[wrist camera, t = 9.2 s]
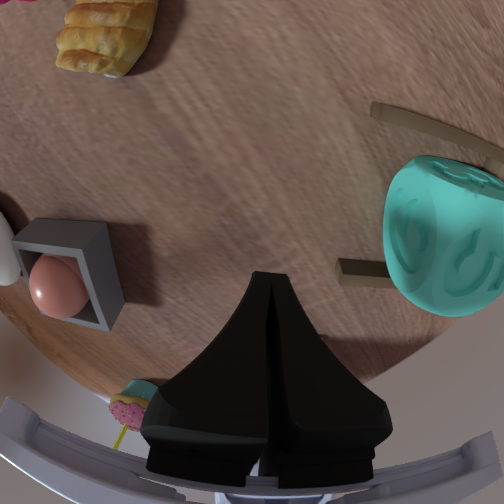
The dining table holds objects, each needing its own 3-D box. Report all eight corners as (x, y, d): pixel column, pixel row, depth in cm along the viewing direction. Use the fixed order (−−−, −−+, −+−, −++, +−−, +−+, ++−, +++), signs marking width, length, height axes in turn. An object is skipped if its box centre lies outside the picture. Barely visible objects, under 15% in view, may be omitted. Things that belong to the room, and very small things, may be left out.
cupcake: (122, 390, 37) (101, 455, 27) (116, 363, 33) (87, 440, 23) (173, 406, 38) (158, 474, 28) (176, 382, 34) (157, 464, 24)
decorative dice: (452, 250, 20) (497, 312, 14) (375, 250, 21) (410, 324, 14) (475, 163, 16) (542, 209, 9) (391, 149, 17) (454, 195, 10)
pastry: (108, -38, 9) (81, -52, 6) (190, -37, 10) (174, -58, 7) (67, 70, 14) (34, 74, 11) (141, 81, 15) (114, 84, 12)
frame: (449, 278, 22) (457, 291, 20) (335, 268, 22) (339, 285, 20) (496, 147, 15) (511, 154, 13) (372, 101, 15) (383, 104, 13)
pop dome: (107, 292, 25) (81, 339, 20) (62, 284, 25) (33, 324, 20) (93, 239, 21) (56, 284, 16) (45, 234, 21) (7, 272, 16)
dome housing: (125, 302, 26) (110, 332, 22) (59, 289, 26) (41, 313, 22) (106, 222, 21) (82, 249, 18) (35, 218, 21) (10, 240, 18)
